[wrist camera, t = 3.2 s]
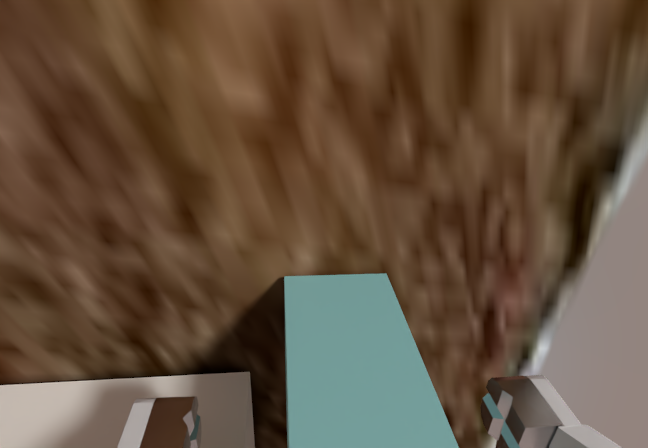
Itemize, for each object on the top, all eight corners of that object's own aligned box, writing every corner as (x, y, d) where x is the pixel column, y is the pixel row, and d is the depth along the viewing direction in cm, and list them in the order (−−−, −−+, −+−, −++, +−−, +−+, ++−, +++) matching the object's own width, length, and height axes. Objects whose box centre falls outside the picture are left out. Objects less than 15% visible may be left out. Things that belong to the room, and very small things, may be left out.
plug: (284, 276, 13) (292, 543, 7) (386, 273, 14) (490, 523, 7) (285, 353, 15) (291, 631, 8) (376, 348, 15) (453, 611, 9)
